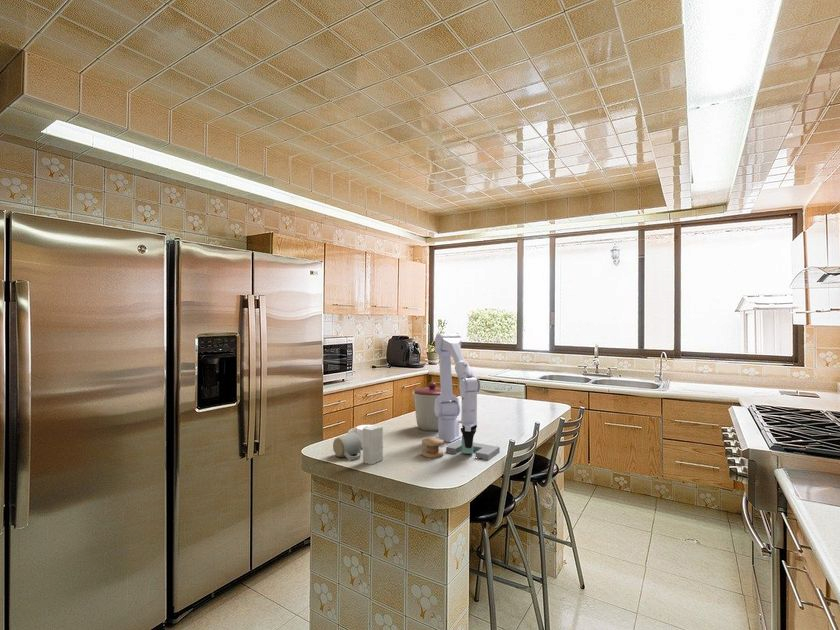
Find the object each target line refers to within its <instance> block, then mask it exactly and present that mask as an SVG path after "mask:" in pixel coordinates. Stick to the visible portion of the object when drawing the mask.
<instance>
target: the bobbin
mask: <svg viewBox="0 0 840 630" xmlns="http://www.w3.org/2000/svg"><path fill="white" fill-rule="evenodd" d="M444 443H445V441H443V440H442V439H438V438H436V437H429V438H428V437H426V438H423V439H422V440H421V444H422V445H423V446H426V448H425V449H422V450H421V455H422V456H423V457H424V458H427V457H428V459H437V458H438V457H439V458H442V457H443V456H444V451H443V450H442V449H440V448H439V447H440V446H442V445H444Z"/></svg>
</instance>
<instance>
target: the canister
mask: <svg viewBox="0 0 840 630" xmlns="http://www.w3.org/2000/svg"><path fill="white" fill-rule="evenodd" d="M427 385H428V386H426V387H419V388H416V389H414V390H413V391H412V395H413V399H414V400H413V402H414V408H415V409H414V410H415V418H416V420H415V421H416V425H417V426H418V429H420V430H423V431H428V432H432V431H433V432H436V431H437V432H438V417H437V416H436V415H435V412H434V405H435V399H436V398H437V397H438V396H439V395H440V394H441V387H437V384H436V382H434V381H430V382H428V383H427ZM450 401H451V400H449V401H442V402H450Z"/></svg>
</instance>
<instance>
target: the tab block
mask: <svg viewBox="0 0 840 630" xmlns="http://www.w3.org/2000/svg"><path fill="white" fill-rule="evenodd" d="M461 434H462V433H461ZM461 440H462V451H461V454H474V451H473V443H472V447H471V448H466V447H465V442H464V437H463V434H462V435H461Z"/></svg>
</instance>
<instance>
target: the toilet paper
mask: <svg viewBox="0 0 840 630" xmlns="http://www.w3.org/2000/svg"><path fill="white" fill-rule="evenodd" d="M373 425H374V424H360V425H358V426H355V427H353V428H350V429H349V430H348V431H347V434H349V433H353V432H354V433H356V434H357V435H358V436H359V438H360V440H361V448H363V428H366V427H369V426H373Z"/></svg>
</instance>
